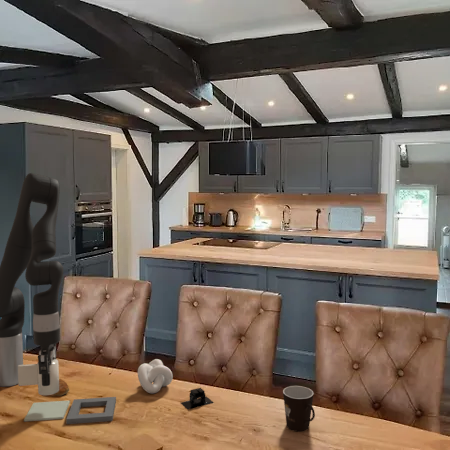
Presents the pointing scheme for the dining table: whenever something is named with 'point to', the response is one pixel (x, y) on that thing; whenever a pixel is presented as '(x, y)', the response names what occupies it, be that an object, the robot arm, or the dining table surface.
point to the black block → (196, 399)
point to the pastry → (62, 388)
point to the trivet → (47, 411)
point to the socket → (94, 417)
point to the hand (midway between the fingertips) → (48, 380)
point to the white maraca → (39, 377)
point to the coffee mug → (298, 407)
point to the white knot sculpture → (154, 376)
